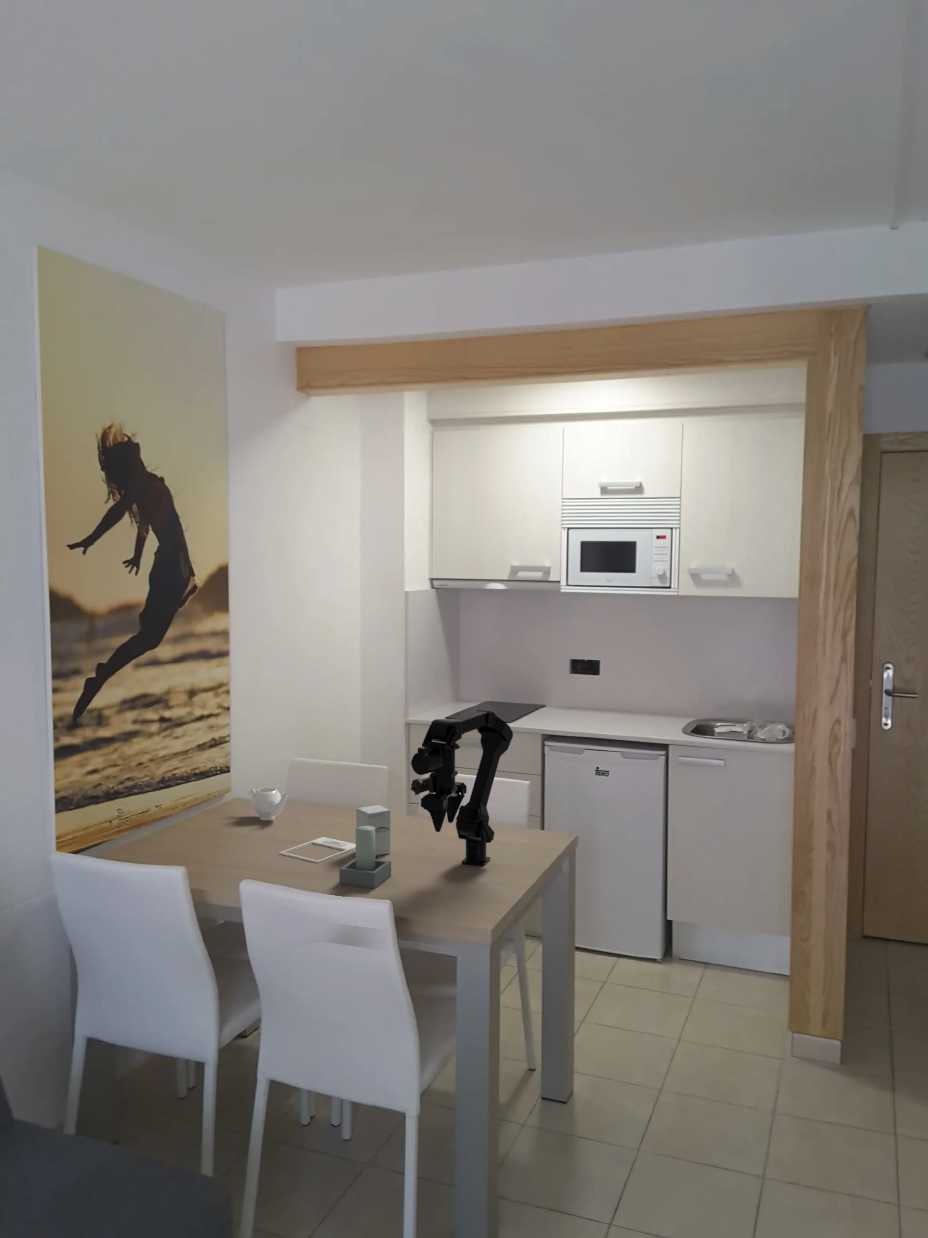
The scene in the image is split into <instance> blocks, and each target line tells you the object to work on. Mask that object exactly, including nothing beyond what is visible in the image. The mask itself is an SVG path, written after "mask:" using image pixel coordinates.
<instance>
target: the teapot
mask: <svg viewBox="0 0 928 1238" xmlns="http://www.w3.org/2000/svg"><path fill="white" fill-rule="evenodd" d="M247 795H248V796H249V795H251V805H252V807H253V810H254V811H255V812H256V813H257V815H259V820H261V821H272V820H274V819H276V816H278V815H280V813H281V812H282V811H283V810H284V808H285V805H286V803H287V800H288V796H289V795H288V794H285V793H284V794H281V793H280V792H279V790H278V789H276V788H274V787H263V788H259V789H257V790H255V788H251V789H249V791H248V793H247Z"/></svg>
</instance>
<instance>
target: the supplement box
mask: <svg viewBox="0 0 928 1238" xmlns="http://www.w3.org/2000/svg"><path fill="white" fill-rule="evenodd" d="M355 816H356V818H355V819H356V820H355V821H356V822H355V829H356V828H357V827H360V826H373V827H375V857H377V856H383V855H388V854H391V809H389V808H386V807H384V806H381V805H380V804H377V805H371V806H364V807H358V808H355Z"/></svg>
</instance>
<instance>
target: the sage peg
mask: <svg viewBox="0 0 928 1238" xmlns="http://www.w3.org/2000/svg"><path fill="white" fill-rule="evenodd" d="M355 844H356V849H355V858H356V869H357V870H365V871H374V870H375V860H376V856H375V827H373V826H360V827H357V828H356V827H355Z"/></svg>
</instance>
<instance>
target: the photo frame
mask: <svg viewBox="0 0 928 1238" xmlns="http://www.w3.org/2000/svg"><path fill="white" fill-rule="evenodd" d="M311 844H313V845H318V846H322V847H327V848H331V849H336V850H338V851H339V850H340V851H339V852H337V853H334V854H332V855H329V856H326V857H324V858H322V859H318V860H316V859H313V858H309V857H306V856H302V855H296V854H292V853H289V852H291V851H292V852H293V851H295V850H297V849H300V848H301V849H302V848H304V847H306V846H309V845H311ZM354 850H356V843H353V842H348V841H343V840H339V839H335V838H330V837H325V836H322V837H319V838H316V839H313V840H311V841H307V842H305V843H301V844H298V845H296V846H293V847H290V848H288V849H286V850H282V851H280V852H279V855H282V856H286V857H290V858H294V859H299V860H304V861H307V862H310V863H316V864H320V863H323V862H325V861H328V860H331V859H333V858H335V857H338V856H340V855H343V854H346V853H349V852H352V851H354Z"/></svg>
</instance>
